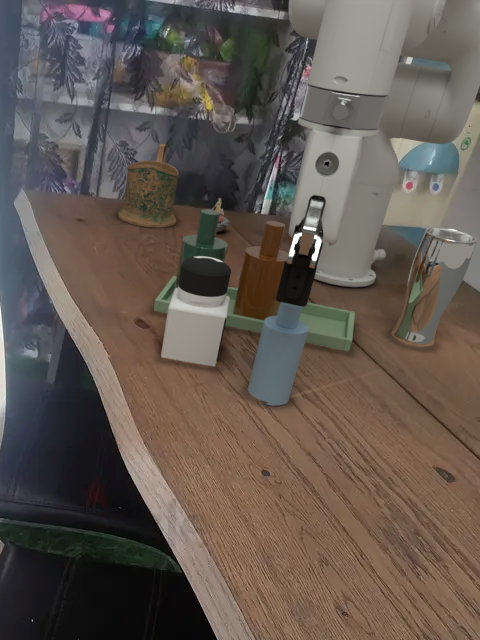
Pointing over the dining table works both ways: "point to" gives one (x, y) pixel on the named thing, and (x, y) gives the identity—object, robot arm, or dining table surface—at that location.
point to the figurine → (221, 217)
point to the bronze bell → (150, 192)
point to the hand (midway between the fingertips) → (295, 289)
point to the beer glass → (433, 283)
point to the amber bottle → (261, 275)
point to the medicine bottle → (198, 312)
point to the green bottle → (203, 241)
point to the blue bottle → (278, 356)
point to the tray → (321, 320)
